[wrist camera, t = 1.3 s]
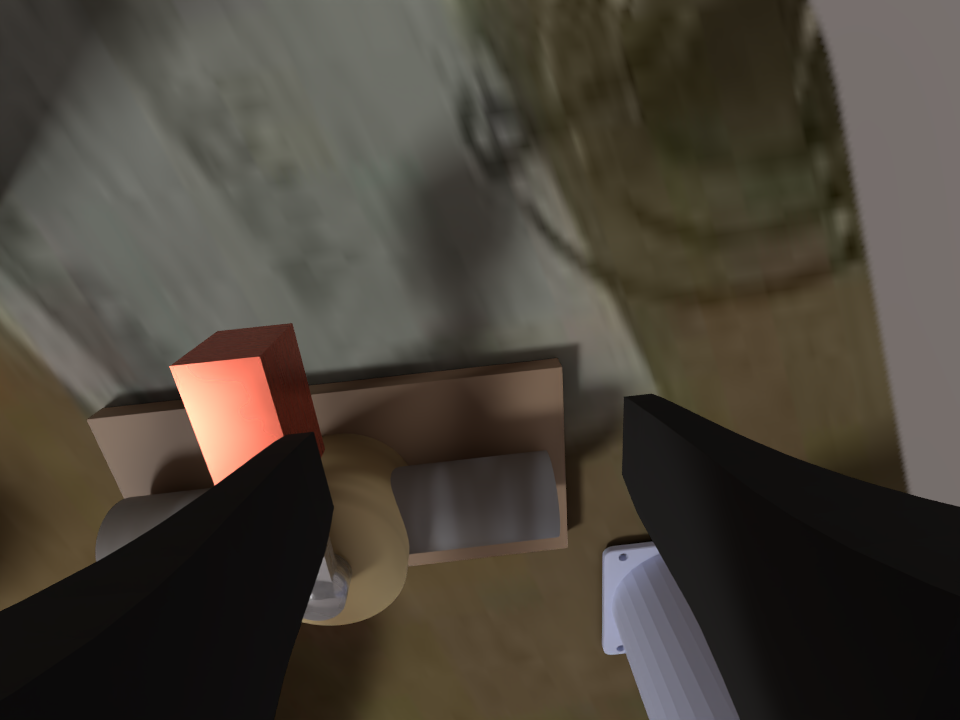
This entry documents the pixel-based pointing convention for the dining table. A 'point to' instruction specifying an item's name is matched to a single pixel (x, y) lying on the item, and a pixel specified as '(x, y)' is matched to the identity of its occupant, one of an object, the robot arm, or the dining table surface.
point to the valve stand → (382, 470)
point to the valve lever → (256, 419)
